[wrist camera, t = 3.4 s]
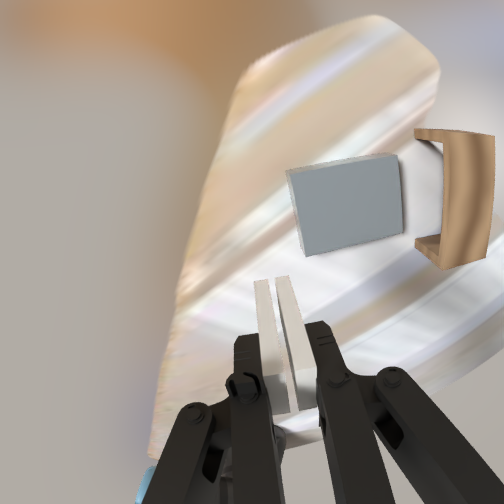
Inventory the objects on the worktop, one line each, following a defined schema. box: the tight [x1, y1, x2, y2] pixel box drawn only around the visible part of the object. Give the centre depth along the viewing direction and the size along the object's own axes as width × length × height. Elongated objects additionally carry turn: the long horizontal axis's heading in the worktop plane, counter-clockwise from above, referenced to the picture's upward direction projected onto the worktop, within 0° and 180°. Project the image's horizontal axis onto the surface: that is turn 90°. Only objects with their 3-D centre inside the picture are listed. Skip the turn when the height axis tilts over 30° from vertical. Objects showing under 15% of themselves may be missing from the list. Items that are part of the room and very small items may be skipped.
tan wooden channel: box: [414, 129, 495, 271], centre depth 27 cm, size 8×15×7 cm, turn 10°
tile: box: [285, 153, 403, 257], centre depth 29 cm, size 12×9×3 cm
